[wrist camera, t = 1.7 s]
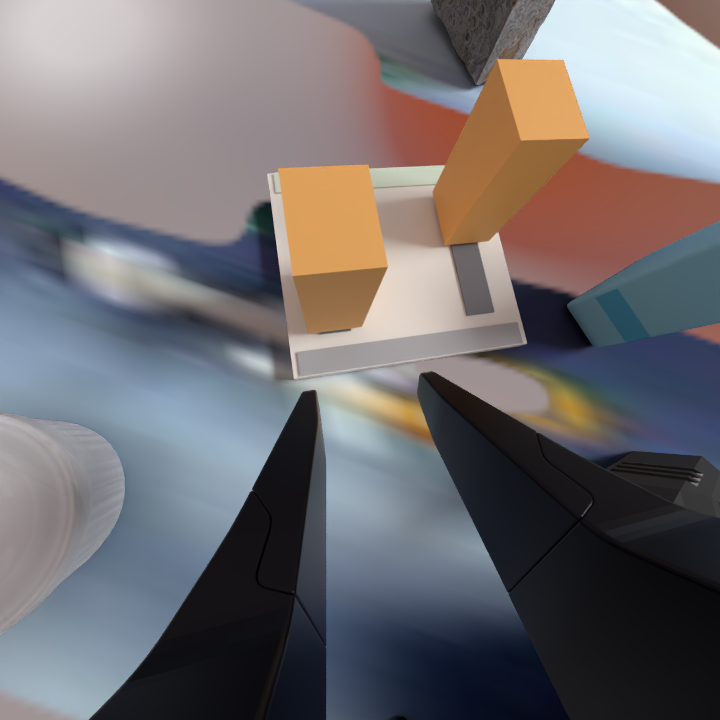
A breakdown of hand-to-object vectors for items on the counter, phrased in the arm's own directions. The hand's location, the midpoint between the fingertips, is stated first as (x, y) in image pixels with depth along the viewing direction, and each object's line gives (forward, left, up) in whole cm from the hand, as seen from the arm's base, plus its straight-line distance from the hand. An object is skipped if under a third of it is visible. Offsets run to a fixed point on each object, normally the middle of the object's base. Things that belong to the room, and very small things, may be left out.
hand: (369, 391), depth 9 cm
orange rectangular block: (+5, +6, -11) cm, 13 cm away
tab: (+18, +3, -11) cm, 21 cm away
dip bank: (+11, +4, -13) cm, 18 cm away
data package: (+24, -13, -13) cm, 30 cm away
